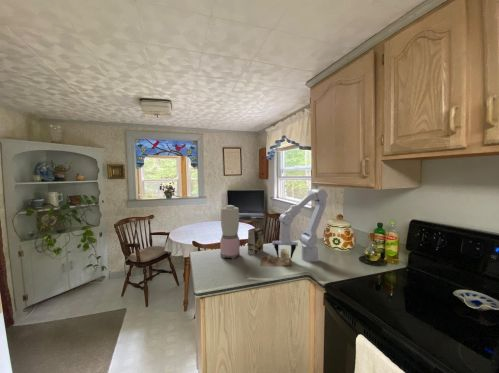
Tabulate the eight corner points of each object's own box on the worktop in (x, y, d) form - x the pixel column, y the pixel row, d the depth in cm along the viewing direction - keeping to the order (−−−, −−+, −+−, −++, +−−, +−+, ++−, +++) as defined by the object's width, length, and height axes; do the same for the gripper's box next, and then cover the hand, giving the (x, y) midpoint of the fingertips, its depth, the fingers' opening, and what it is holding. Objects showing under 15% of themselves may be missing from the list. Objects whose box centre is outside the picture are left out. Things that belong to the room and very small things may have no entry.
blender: (237, 260, 133) (238, 207, 131) (218, 259, 135) (217, 207, 132) (241, 250, 149) (241, 203, 146) (223, 249, 150) (223, 203, 148)
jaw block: (288, 258, 133) (288, 249, 132) (289, 265, 124) (289, 255, 123) (280, 258, 133) (280, 248, 133) (281, 265, 124) (281, 254, 124)
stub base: (290, 259, 135) (290, 253, 134) (292, 268, 122) (292, 261, 121) (261, 258, 136) (261, 251, 136) (260, 267, 124) (260, 260, 123)
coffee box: (255, 256, 139) (255, 231, 138) (247, 254, 143) (247, 229, 141) (263, 252, 146) (263, 228, 145) (255, 250, 150) (255, 226, 149)
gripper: (272, 235, 124) (272, 259, 125) (298, 237, 123) (298, 260, 124) (272, 232, 131) (272, 254, 132) (297, 233, 130) (296, 255, 131)
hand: (284, 257), depth 128 cm, fingers open, 7 cm apart
